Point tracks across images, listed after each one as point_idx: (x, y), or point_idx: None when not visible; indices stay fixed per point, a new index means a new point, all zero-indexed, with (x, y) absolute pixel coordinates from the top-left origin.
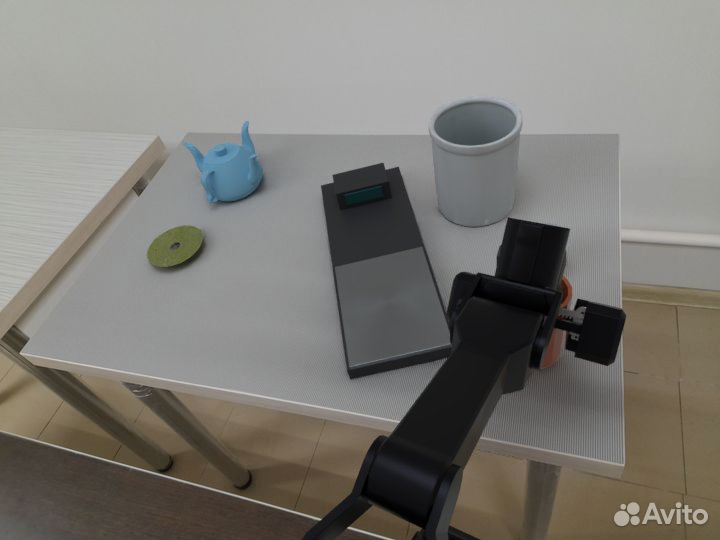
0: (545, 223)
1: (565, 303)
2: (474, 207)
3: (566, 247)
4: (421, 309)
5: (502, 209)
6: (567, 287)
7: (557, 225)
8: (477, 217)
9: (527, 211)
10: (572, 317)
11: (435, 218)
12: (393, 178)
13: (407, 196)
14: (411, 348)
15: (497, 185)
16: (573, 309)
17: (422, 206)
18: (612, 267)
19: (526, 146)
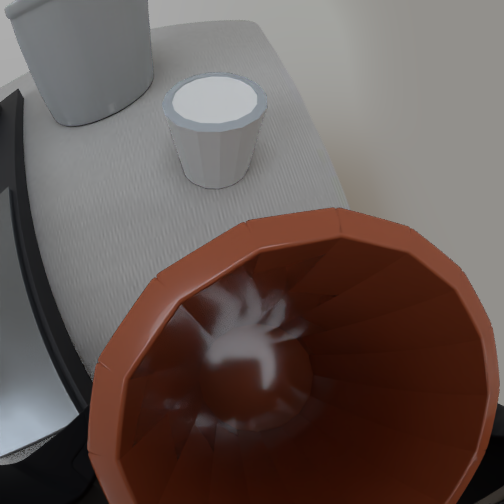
0: (206, 73)
1: (482, 451)
2: (84, 89)
3: (264, 108)
4: (10, 336)
5: (133, 83)
6: (480, 338)
7: (231, 73)
8: (94, 104)
9: (173, 82)
10: (489, 483)
11: (47, 129)
12: (8, 103)
13: (14, 116)
14: (27, 433)
15: (113, 41)
16: (490, 439)
17: (36, 121)
18: (320, 141)
19: (166, 29)
